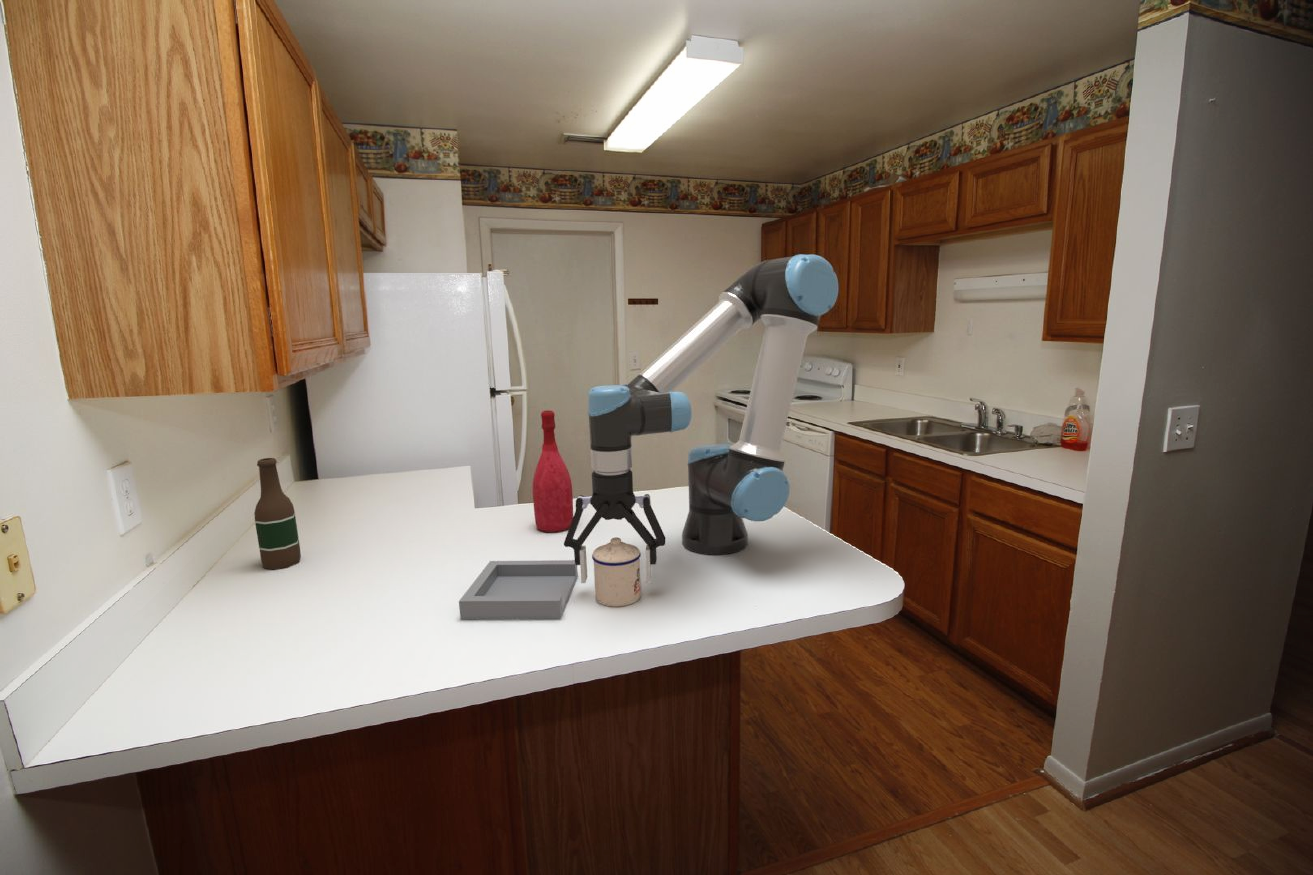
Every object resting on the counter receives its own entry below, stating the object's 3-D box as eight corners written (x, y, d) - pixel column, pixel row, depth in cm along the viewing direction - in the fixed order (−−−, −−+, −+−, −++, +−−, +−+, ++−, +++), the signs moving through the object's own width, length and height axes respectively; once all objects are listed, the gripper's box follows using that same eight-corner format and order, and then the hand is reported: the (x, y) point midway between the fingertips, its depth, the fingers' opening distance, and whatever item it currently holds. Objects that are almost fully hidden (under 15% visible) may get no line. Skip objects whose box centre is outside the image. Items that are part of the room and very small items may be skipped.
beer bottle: (307, 562, 137) (292, 458, 132) (267, 573, 131) (250, 465, 127) (295, 553, 142) (280, 453, 137) (257, 564, 137) (240, 459, 132)
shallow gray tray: (577, 576, 126) (576, 560, 125) (560, 618, 108) (559, 600, 107) (491, 576, 127) (490, 560, 126) (460, 619, 109) (458, 601, 108)
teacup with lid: (646, 604, 113) (644, 545, 110) (597, 610, 111) (594, 550, 109) (635, 578, 124) (633, 523, 122) (590, 583, 122) (587, 527, 120)
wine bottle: (566, 534, 150) (559, 414, 144) (529, 532, 152) (520, 413, 146) (579, 521, 159) (573, 407, 153) (543, 519, 161) (536, 407, 155)
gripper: (677, 464, 116) (679, 571, 120) (551, 466, 117) (558, 572, 121) (676, 474, 108) (679, 588, 113) (542, 476, 110) (550, 588, 114)
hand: (616, 579), depth 117 cm, fingers open, 12 cm apart
